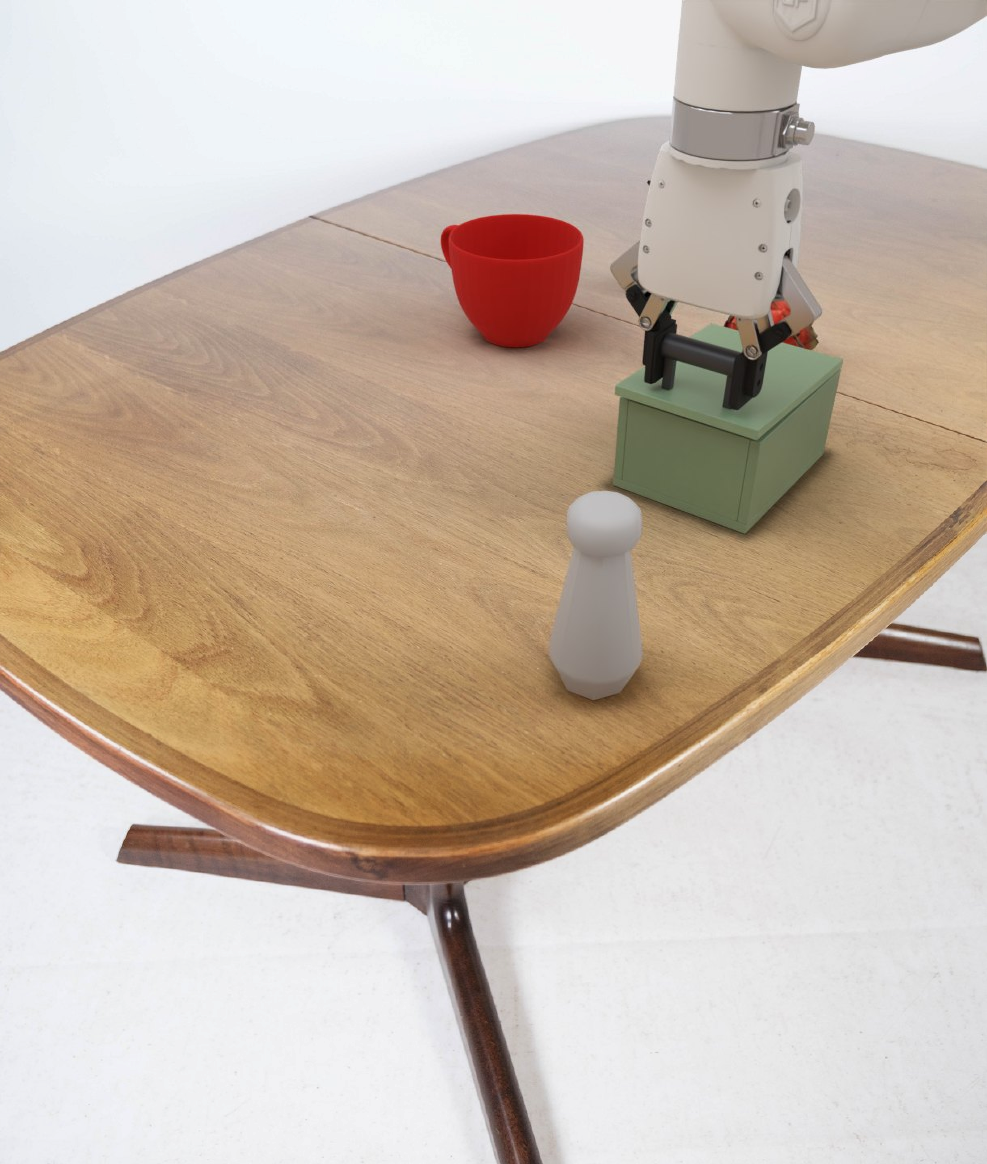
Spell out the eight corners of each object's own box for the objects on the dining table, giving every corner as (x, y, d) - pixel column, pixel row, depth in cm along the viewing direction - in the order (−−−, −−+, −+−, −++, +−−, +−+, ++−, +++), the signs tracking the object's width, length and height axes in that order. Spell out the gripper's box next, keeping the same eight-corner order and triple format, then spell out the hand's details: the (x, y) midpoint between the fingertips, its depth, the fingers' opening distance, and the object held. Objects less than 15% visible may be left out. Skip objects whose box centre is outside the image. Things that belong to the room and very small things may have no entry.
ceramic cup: (489, 288, 119) (488, 196, 113) (605, 334, 109) (611, 236, 103) (399, 322, 111) (393, 226, 105) (515, 374, 102) (516, 271, 96)
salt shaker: (656, 695, 66) (677, 520, 59) (572, 720, 65) (581, 543, 57) (613, 639, 71) (627, 469, 63) (533, 660, 69) (537, 488, 61)
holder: (745, 534, 80) (760, 443, 76) (612, 485, 86) (619, 397, 81) (823, 454, 90) (841, 368, 85) (699, 414, 95) (709, 332, 91)
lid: (756, 440, 75) (768, 374, 72) (614, 394, 80) (619, 331, 78) (841, 368, 85) (855, 307, 82) (709, 331, 91) (718, 273, 88)
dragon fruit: (782, 359, 108) (756, 428, 100) (718, 304, 106) (687, 370, 99) (845, 305, 101) (823, 375, 94) (778, 246, 100) (750, 312, 92)
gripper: (887, 137, 66) (832, 402, 77) (641, 98, 74) (623, 342, 85) (839, 166, 61) (788, 445, 72) (582, 121, 69) (571, 377, 80)
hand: (699, 387), depth 78 cm, fingers closed on lid, 6 cm apart
